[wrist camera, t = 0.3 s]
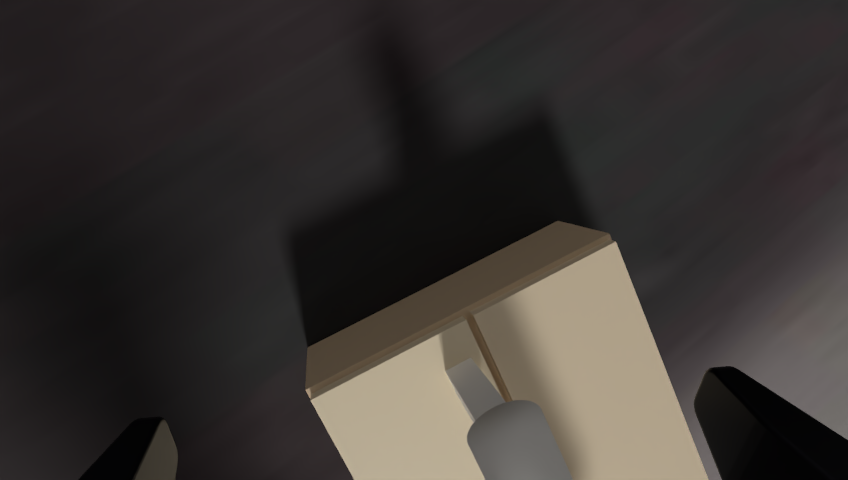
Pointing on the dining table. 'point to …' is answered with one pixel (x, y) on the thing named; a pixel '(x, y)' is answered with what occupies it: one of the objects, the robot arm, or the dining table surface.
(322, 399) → the flap
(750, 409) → the robot arm
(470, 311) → the carton
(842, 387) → the dining table surface
